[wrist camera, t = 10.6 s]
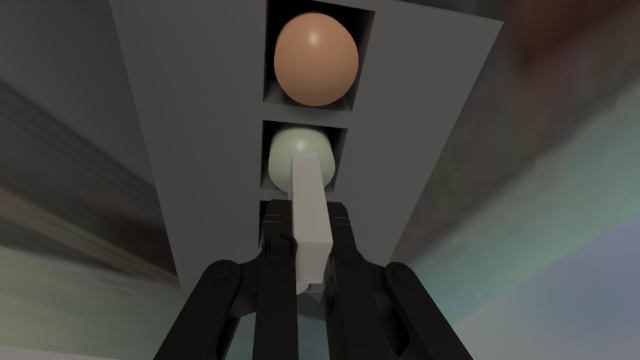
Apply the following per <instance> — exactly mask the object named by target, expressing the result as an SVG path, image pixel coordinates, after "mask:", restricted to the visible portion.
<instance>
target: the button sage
mask: <svg viewBox="0 0 640 360" xmlns="http://www.w3.org/2000/svg"><path fill="white" fill-rule="evenodd" d="M292 152H302V153H314V154H318V156H319V162H320V168H321V174H322V180H323V186H324V187H325V186H326V185H328V183H329V182H330V181H331V179H332V178H333V175H334V172H335V162H334V158H333V153H332V149H331V145H330V141H329V137H328V133H327V130H326V128H325V127H324V126H319V125H309V124H299V123H289V122H278V123H277V125H276V126H275V128H274V129H273V132H272V136H271V146H270V156H269V166H268V171H269V175H270V178H271V180H272V181H273V183H274V184H275V185H276V186H277V187H278V188H279V189H281V190H283V191H285V192H287V193H288V185H289V175H290V166H291V157H292Z"/></svg>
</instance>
